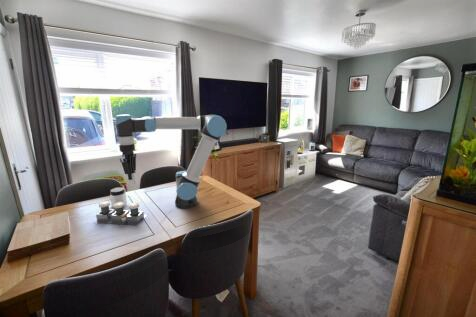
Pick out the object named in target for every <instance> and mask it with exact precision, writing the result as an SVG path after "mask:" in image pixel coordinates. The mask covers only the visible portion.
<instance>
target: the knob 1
mask: <svg viewBox="0 0 476 317" xmlns="http://www.w3.org/2000/svg"><path fill="white" fill-rule="evenodd" d="M110 206H111V201H106V200H105V201H101V202H99V203H98V208H100V211H101V212H102V214H108V213H109V212H110V211H109V209H110Z"/></svg>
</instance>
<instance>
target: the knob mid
mask: <svg viewBox="0 0 476 317" xmlns="http://www.w3.org/2000/svg"><path fill="white" fill-rule="evenodd" d="M113 206H114V207H113V209H114V210H115V212H116V215H121V214H122V213H124V210H125V209H124V207H126V206H125V205H124V203H123V202H118V203H115V204H114V205H113Z"/></svg>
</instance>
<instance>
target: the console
mask: <svg viewBox="0 0 476 317" xmlns="http://www.w3.org/2000/svg"><path fill="white" fill-rule="evenodd" d="M109 211H110V212H109V213H108V214H102V212H101V210H100V211H99V212H98V213H95V215H96V216H95V217H96V220H95V221H94V222H93V224H97V225H98V224H99V225H101V224H103V225H118V226H132V227H133V226H136V227H137V226H138V225H139V224H140V223H141V222H142V221H143V220H144V219H145V218H146V217H147V216H148V215H147V214H145V213H144V210H138V213H139V214H138V215H137V216H131V211H130V209H129V210H127V209H124V213H127V216H126V219H127V223H125V224H122V219H121V216H120V215H116V209H114V208H113V209H112V208H111V209H110V208H109Z"/></svg>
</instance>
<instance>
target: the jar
mask: <svg viewBox="0 0 476 317" xmlns="http://www.w3.org/2000/svg"><path fill="white" fill-rule="evenodd" d="M109 194H110V195H109V197H110V206H111V207H112V208H114V206H113V205H114V204H115V203H118V202H123V203H124V205H125V206H124V207H126V206H127V205H128V204H127V203H128V202H127V201H128V200H127V196H126V191H125V188H124V187H114V188H111V189H110V191H109Z"/></svg>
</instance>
